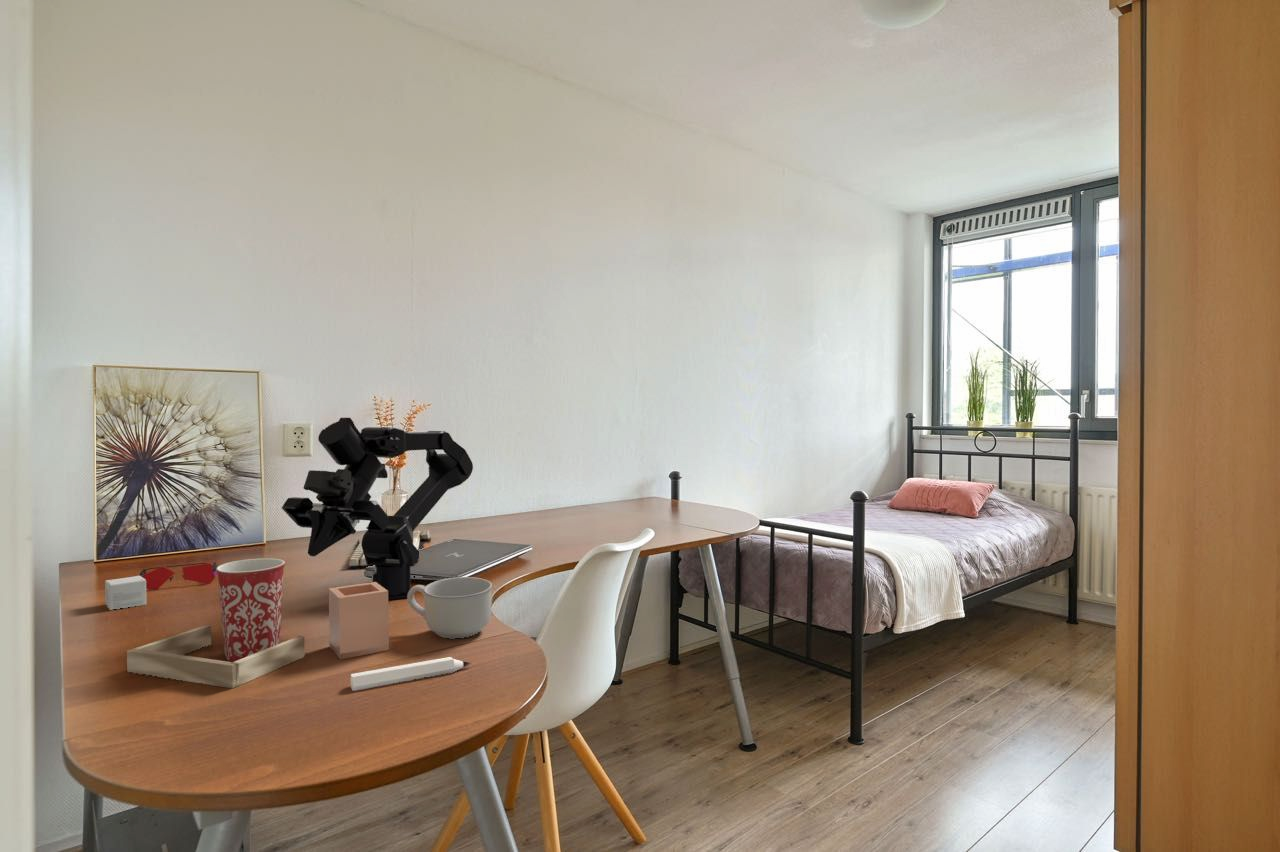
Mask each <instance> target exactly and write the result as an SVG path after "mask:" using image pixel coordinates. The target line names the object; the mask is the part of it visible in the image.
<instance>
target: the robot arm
mask: <svg viewBox="0 0 1280 852" xmlns="http://www.w3.org/2000/svg"><path fill="white" fill-rule="evenodd" d="M317 438H318V442H319V443H320V445H321V446H322V447H323V448H324V450H325V452H327V453H328V455H329V456H330V457H331V458H332V460H333V461H334V463H336V464H337V465H339V466H345V467H344V468H338V469H337V470H336V471H330V470H329V471H328V470H313V469H312V470H308V472H307V476H306V479H305V481H304V484H303V487H302V488H303V490H305V491H310V492H312V493H314V494H317V495H316V497H315V499H316V500H317V501H318V502H321V503H316V502H315V503H314V502H313V501H312V499H311V498H309V497H299V496H298V497H296V496H295V497H293V496H292V497H288V498H287V499H286V500H285V501H284V503H283V505H282V506H281V510H283V512H285V513H286V514H287V516H288V517H289V518H290V519H291V520H292V521H293V522H294V524H295V525H297V526H298V527H300V528H306V529H307V528H308V529H309V528H310V529H311V532H310V536H309V543H308V548H307V554H308V555H309V556H310V557H316V556H318V555H319V554H320V553H322V552H324V551H325V550H326V549H329V548H330V547H331V546H333V545H334V544H336V543H338V542H340V541H341V540H343V539H345V538H347V537H348V536H350V535H354V534H356V532H357V530H356V529H355V528H356V526H357V525H358V524H359V523H360V522H361V521H369V522H368V525H367V526H366V528H365V529H366V531H365V532H364V534H363V536H362V538H361V541H362V549H363V553H364V556H365V560H366V563H367V565H375V569H374V571H372V572H371V582H377V583H378V584H379V585H381V586H382V587H383V588H385V589H386V590H387V591H388V600H396V599H406V598H407V595H408V592H409V590H410V589H411V588H412V587H411V567H413V566H415V564H418V563H419V561H418V559H419V551H418V550H417V548H416V547H415V546H414V545H413V532H414V531H415V530H416V528H417V527H418V526H420V524H421V522H422V521H423V520H424V519H425V517H426V516H427V515H429V512H431V510H433V508H434V507H435V506H436V505H437V503H438V502H439V501H440V500H441V499H442V497H444V495H445V494H446V492H447V491H449V490H451V489H453V488H456V487H458V486H460V485H462V484H463V483H465V482H466V481H467V480H469V478H470V477H471V475H472V473H473V470H474V466H473V465H474V463H473V461H472V460H471V458H470V455H469V454H468V452H467V450H466V449H465V448H464V447H462V446H461V445H460V444H458V443H457V442H456V441H455V440H454V439H453V438H452V436H451V434H450V433H449V432H447V431H444V430H428V431H421V432H419V431H418V432H416V431H415V432H414V431H413V432H407V431H404V430H403V429H400V428H397V427H385V426H384V427H382V426H381V427H379V426H378V427H377V426H376V427H375V426H374V427H373V426H372V427H370V426H368V427H367V426H366V427H363V428H362V429H361V430H360V431H359V429H358V428H357V427H356V424H355V423H354V421H353V419H352V418H351V417H340V418H339V419H338V421H336V422H333V423H331V424H329V425H328V426H327V427H325V428H323V429H322V430H320V433H319V434H318V436H317ZM424 450H425V451H426V457H425V462H426V464H427V465H428V477H427V478H426V479H425V480H424V481H422V483H421V484H420V485H419V486H418V488H416V490H415V491H414V492H413V493H412V494H411V495H410V496H409V498H408V499H407V500H406V501H405V502H404V503H403V505H401V506H400V508H399V509H398V510H397V511H396V512H395V513H394V514H393V515H388V514H387V513H386V512H385V510H384V509H383V508H382V506H381V505H380V504H379V503H378V501H377V500H371V498H372V495H371V494H370V493H369V492H370V490H371V489H372V486H373V485H374V483H375V482H376V480H377V479H387V478H388V471H387V469H386V463H382V462H381V461H380V458H382V459H383V458H386V459H387V458H389V459H391V458H392V459H393V458H397V457H399V456H402V455H404V454H405V453H406V452H410V451H424ZM437 450H438V451H440V450H441V451H443V452H444V453H438V452H437Z"/></svg>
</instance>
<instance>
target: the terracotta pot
mask: <svg viewBox="0 0 1280 852" xmlns="http://www.w3.org/2000/svg"><path fill="white" fill-rule="evenodd" d="M389 613H390V612H389V599H388V591H387V590H386V589H385V588H383V587H382V586H381V585H379V584H378V583H377V582H372V581H371V582H366V583H357V584H351V585H343V586H337V587H329V588H328V615H329V616H328V617H329V619H328V622H329V648H330V649H331V650H332V651H333V653H334V654H335V655H336V656H337V657H338V659H339V660H346V659H350V658H355V657H360V656H365V655H369V654H375V653H376V654H377V653H382V652H386V651H389V650H390V631H389V630H390V626H389V624H390V623H389V618H390V615H389Z"/></svg>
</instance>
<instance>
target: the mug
mask: <svg viewBox="0 0 1280 852" xmlns="http://www.w3.org/2000/svg"><path fill="white" fill-rule="evenodd" d="M285 565H286V561H285V560H283V559H280V558H272V557H271V558H270V557H269V558H268V557H267V558H263V557H262V558H251V559H250V558H247V559H242V560H234V561H229V562H225V563H223V564H220V565H219V566H217V568H216V574H217V580H218V592H219V601H220V602H219V603H220V614H221V616H220V618H221V626H222V627H221V628H222V638H223V654H224V659H225V660H226V661H228V662H235V661H237V660H240V659H242V658H245V657H247V656H250V655H252V654H255V653H257V652H260V651H262V650H265V649H267V648H270V647H272V646H275V645H277V644H280V643H281V626H282V625H281V623H282V603H283V602H282V601H283V588H284V587H283V585H284V568H285Z"/></svg>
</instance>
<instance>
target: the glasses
mask: <svg viewBox="0 0 1280 852" xmlns="http://www.w3.org/2000/svg"><path fill="white" fill-rule="evenodd" d="M173 567H174V568H175V567H176V568H177V567H182V568H181V569H182V575H181V576H182V578H183V579H184V580H185V581H186V580H187V581H192V582H196V583H201V584H206V585H210V584H211V583H212V582H213V581H214V579H215V578H216V575H217V571H216V568H217V567H218V566H217V562H213V563H209V562H207V563H206V562H198V563H188V564H178V565H177V564H176V565H167V566H165V565H163V566H156V567H149V568H143V569H142V571H141V572H140V573H139V575H138V576H141V577H142V578H144V579H145V580H146V590H150V591H152V590H151V589H157V590H159V588H160V587H162V586H163V585H164V584H165V583H166V582H167V581H168V580H169V583H170V582H171V581H172V580H173V579H174V574H175V573H176V572H174V571H173V570H171V569H169V568H173ZM149 570H151V571H149ZM147 571H148V572H147Z"/></svg>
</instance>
